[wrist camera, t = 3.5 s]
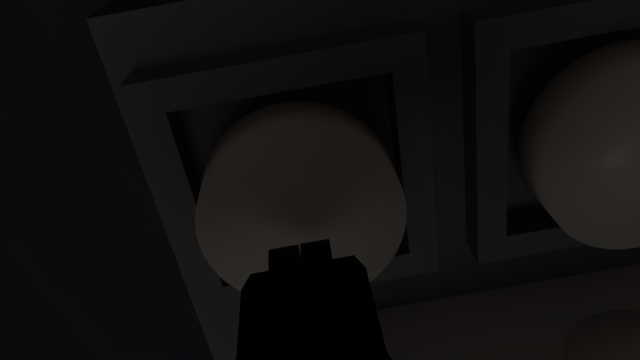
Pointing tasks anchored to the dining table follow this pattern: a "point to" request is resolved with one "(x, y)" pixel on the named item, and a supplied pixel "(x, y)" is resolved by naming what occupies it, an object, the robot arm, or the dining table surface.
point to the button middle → (588, 147)
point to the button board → (391, 154)
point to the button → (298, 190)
